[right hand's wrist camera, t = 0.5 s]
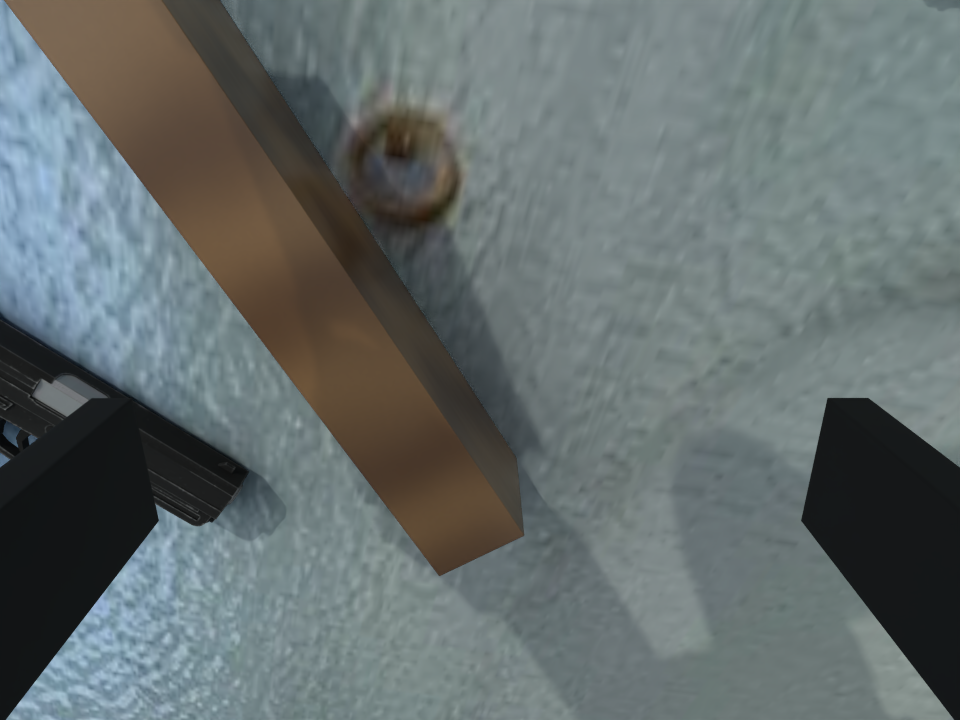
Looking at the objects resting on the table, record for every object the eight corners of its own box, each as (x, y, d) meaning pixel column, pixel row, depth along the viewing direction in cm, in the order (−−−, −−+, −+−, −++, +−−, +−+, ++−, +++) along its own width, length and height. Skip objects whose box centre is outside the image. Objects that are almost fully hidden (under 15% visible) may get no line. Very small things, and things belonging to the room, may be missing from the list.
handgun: (128, 637, 40) (242, 490, 36) (-231, 453, 35) (-148, 255, 31) (150, 602, 43) (259, 461, 39) (-180, 426, 38) (-97, 241, 34)
